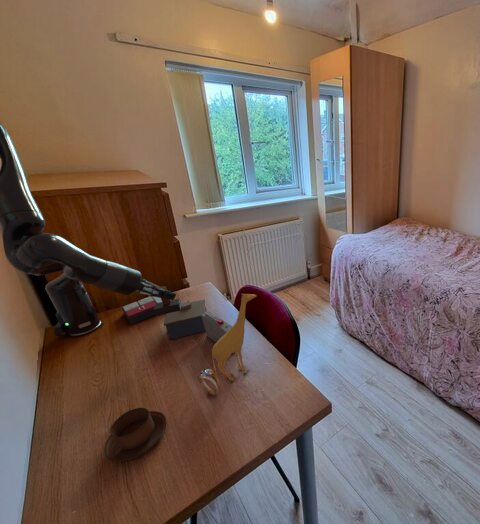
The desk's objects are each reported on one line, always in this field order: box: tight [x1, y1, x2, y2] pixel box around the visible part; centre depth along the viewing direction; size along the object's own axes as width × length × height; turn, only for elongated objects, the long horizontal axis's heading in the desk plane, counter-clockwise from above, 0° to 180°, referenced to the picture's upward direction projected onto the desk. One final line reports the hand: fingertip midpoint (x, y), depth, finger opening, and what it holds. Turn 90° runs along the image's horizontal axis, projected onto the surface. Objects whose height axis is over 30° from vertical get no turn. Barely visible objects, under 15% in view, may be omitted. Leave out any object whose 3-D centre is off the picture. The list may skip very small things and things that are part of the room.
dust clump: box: [181, 300, 191, 310], centre depth 107 cm, size 3×3×1 cm
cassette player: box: [201, 310, 235, 355], centre depth 97 cm, size 16×3×10 cm, turn 53°
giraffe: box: [211, 293, 257, 382], centre depth 82 cm, size 16×4×25 cm, turn 141°
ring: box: [196, 368, 221, 396], centre depth 78 cm, size 7×3×8 cm, turn 60°
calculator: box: [121, 295, 162, 325], centre depth 116 cm, size 11×4×15 cm
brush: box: [154, 285, 182, 317], centre depth 92 cm, size 4×7×8 cm, turn 115°
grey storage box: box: [163, 299, 208, 340], centre depth 106 cm, size 13×12×7 cm
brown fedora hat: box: [103, 407, 167, 463], centre depth 66 cm, size 12×12×6 cm
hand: (171, 295), depth 94 cm, fingers closed on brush, 2 cm apart
